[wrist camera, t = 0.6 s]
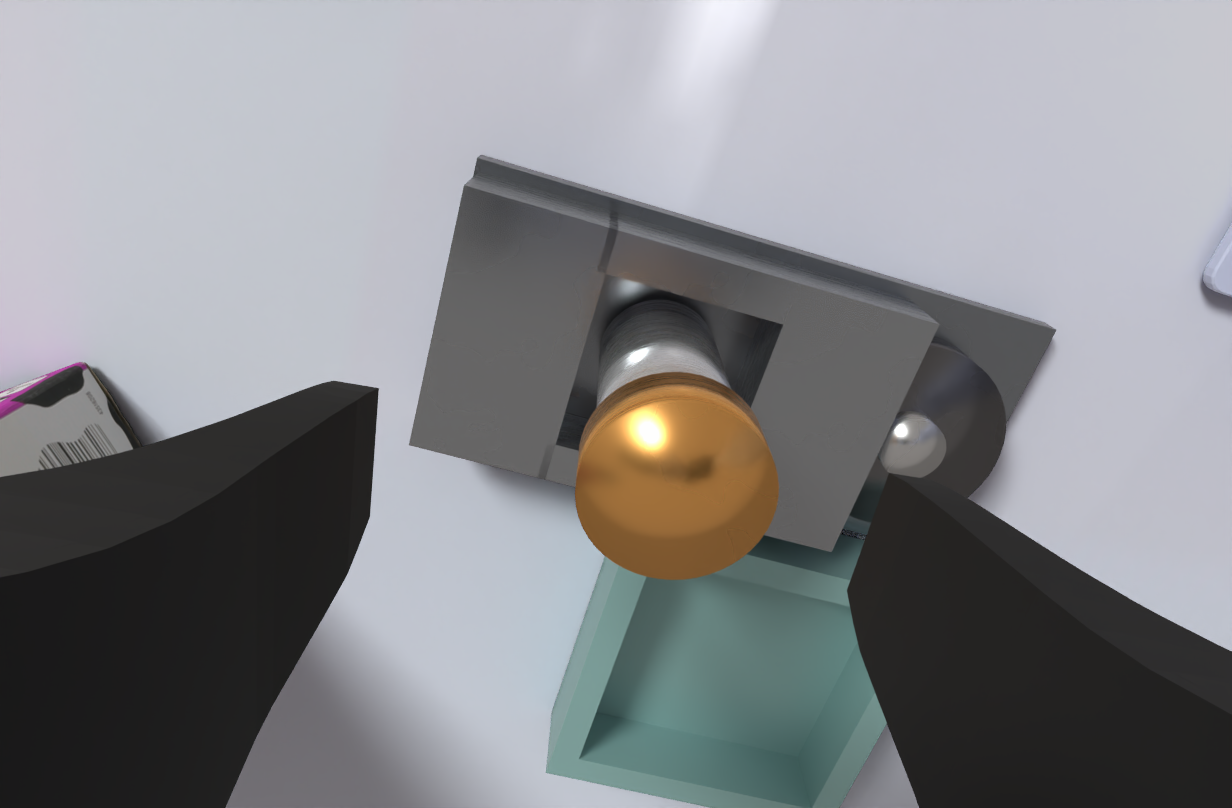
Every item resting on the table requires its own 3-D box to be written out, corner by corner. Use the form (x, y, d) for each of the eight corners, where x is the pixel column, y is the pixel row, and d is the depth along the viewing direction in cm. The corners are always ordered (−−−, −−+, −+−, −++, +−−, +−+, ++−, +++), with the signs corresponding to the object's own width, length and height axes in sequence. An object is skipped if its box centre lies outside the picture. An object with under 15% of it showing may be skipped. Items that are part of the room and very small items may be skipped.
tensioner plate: (1044, 322, 21) (1099, 357, 19) (929, 541, 24) (964, 596, 21) (481, 154, 19) (462, 169, 17) (425, 410, 22) (402, 454, 20)
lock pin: (747, 309, 20) (809, 433, 14) (701, 434, 22) (738, 599, 15) (609, 270, 20) (606, 378, 13) (571, 399, 21) (552, 553, 15)
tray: (922, 554, 24) (953, 605, 22) (808, 769, 27) (825, 832, 25) (631, 480, 23) (632, 526, 21) (551, 712, 26) (545, 772, 24)
